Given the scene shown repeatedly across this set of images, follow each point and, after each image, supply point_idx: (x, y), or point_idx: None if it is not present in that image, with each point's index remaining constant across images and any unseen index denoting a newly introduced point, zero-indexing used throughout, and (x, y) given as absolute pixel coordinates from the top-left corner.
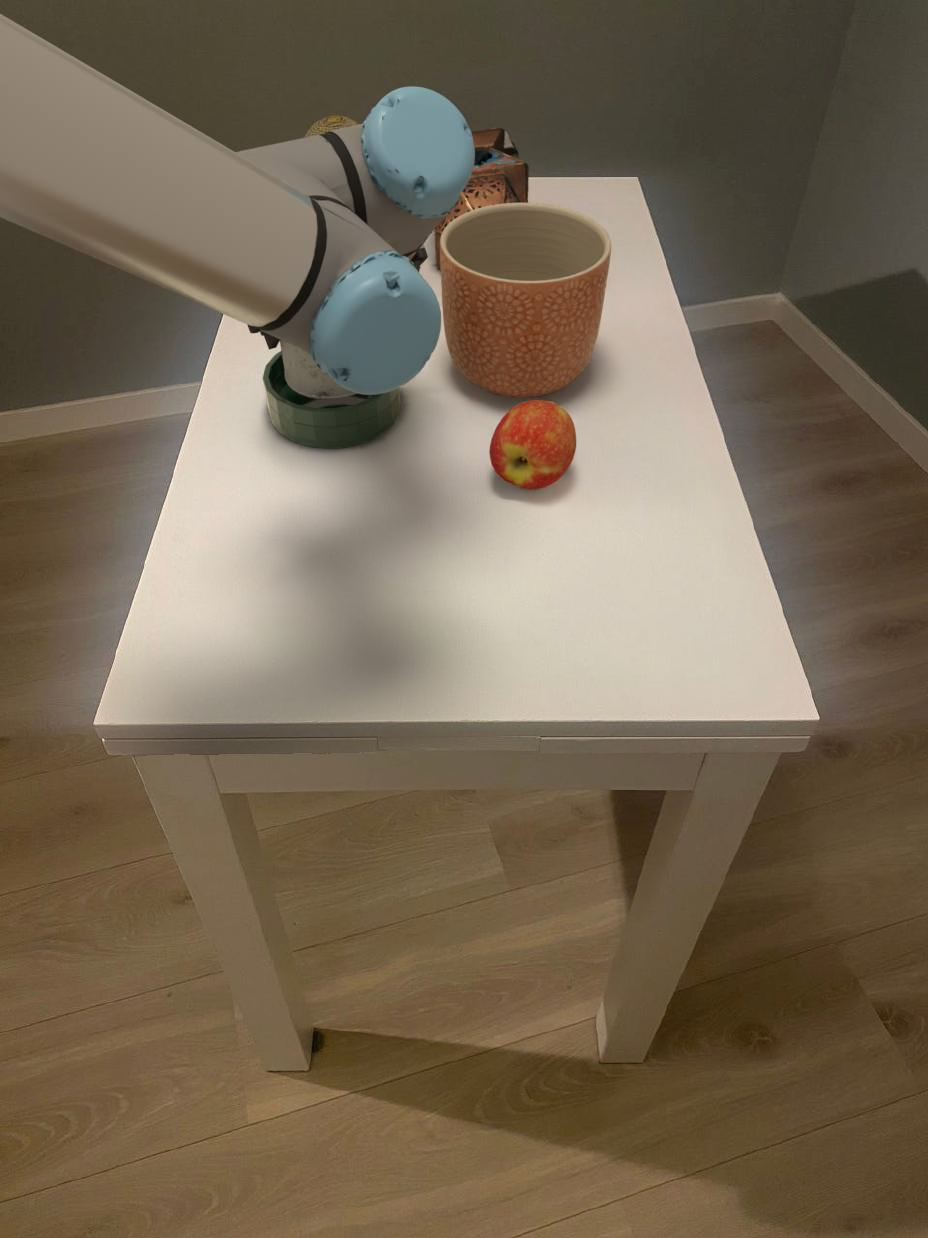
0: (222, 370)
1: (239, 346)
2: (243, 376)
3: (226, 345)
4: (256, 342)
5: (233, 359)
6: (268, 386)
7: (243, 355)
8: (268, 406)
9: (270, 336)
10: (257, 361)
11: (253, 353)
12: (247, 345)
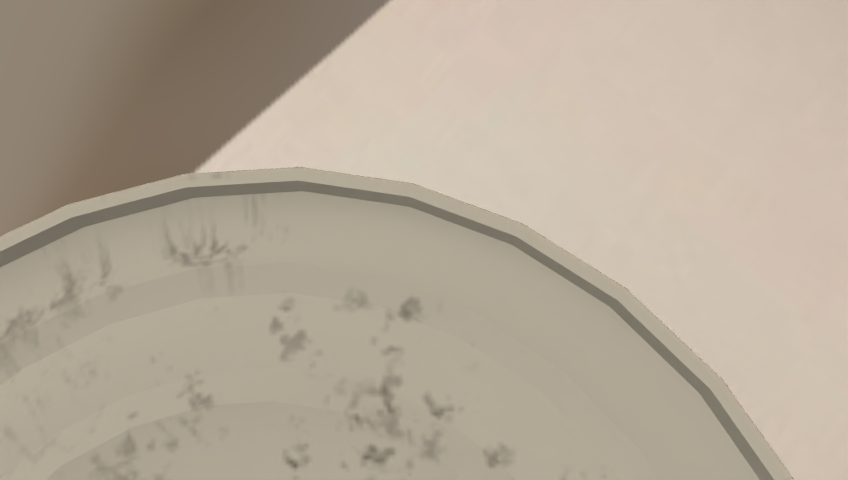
0: (257, 136)
1: (367, 73)
2: None
3: (343, 47)
4: (415, 86)
5: (314, 112)
6: None
7: (347, 114)
8: None
9: None
10: (358, 163)
11: (374, 124)
12: (386, 82)
